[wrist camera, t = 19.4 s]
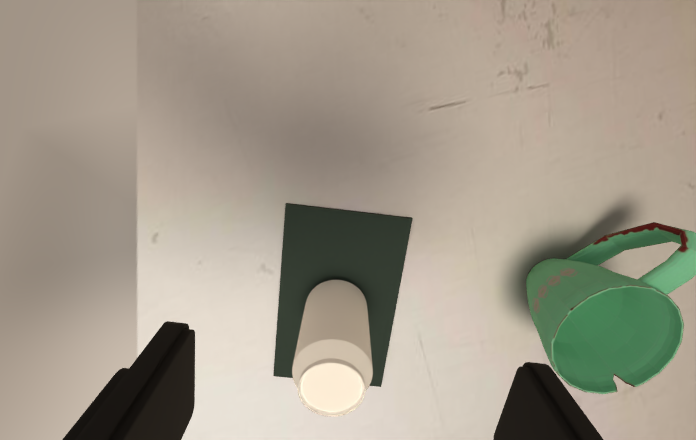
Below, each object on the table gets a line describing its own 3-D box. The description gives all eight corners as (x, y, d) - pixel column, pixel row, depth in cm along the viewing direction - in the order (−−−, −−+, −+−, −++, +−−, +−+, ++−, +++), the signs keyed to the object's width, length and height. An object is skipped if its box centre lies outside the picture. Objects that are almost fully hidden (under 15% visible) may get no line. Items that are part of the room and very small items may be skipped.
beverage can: (377, 312, 39) (389, 404, 28) (325, 337, 40) (316, 435, 29) (348, 265, 37) (348, 341, 26) (294, 292, 38) (272, 377, 27)
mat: (286, 203, 35) (285, 203, 35) (412, 218, 36) (412, 218, 36) (273, 374, 42) (273, 376, 42) (380, 385, 42) (380, 386, 42)
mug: (550, 337, 40) (612, 413, 31) (480, 290, 38) (523, 356, 29) (659, 231, 36) (769, 281, 27) (587, 174, 34) (677, 205, 25)
